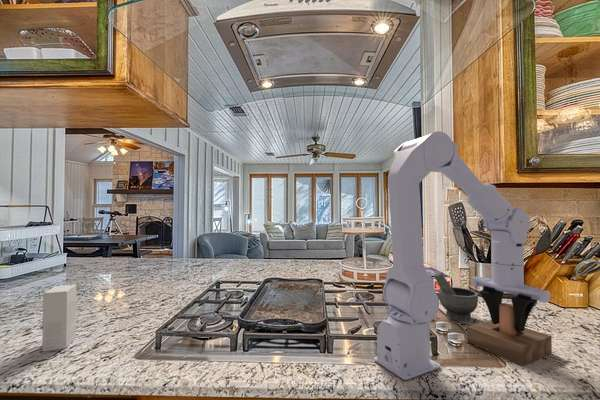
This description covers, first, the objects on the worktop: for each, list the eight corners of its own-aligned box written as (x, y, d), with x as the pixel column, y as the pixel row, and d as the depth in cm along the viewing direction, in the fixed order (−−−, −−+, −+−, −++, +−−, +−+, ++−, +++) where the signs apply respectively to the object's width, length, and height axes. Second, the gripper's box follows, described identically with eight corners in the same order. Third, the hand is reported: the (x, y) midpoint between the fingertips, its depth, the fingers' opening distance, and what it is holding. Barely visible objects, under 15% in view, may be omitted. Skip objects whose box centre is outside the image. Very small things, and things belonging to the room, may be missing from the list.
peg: (511, 352, 62) (510, 308, 62) (496, 346, 65) (496, 304, 65) (519, 349, 63) (519, 306, 64) (504, 343, 66) (504, 302, 66)
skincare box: (53, 340, 66) (54, 285, 67) (76, 337, 68) (77, 284, 68) (40, 352, 61) (42, 293, 61) (66, 349, 62) (67, 291, 63)
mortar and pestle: (472, 312, 86) (472, 270, 86) (484, 325, 77) (484, 277, 77) (430, 309, 88) (430, 268, 89) (437, 320, 79) (436, 275, 80)
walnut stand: (523, 366, 57) (522, 347, 57) (467, 342, 66) (467, 326, 67) (551, 353, 62) (551, 336, 62) (496, 333, 72) (495, 318, 72)
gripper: (557, 267, 60) (558, 336, 60) (484, 256, 73) (484, 313, 73) (539, 270, 57) (540, 343, 56) (466, 259, 70) (466, 318, 69)
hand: (507, 326), depth 64 cm, fingers open, 4 cm apart
